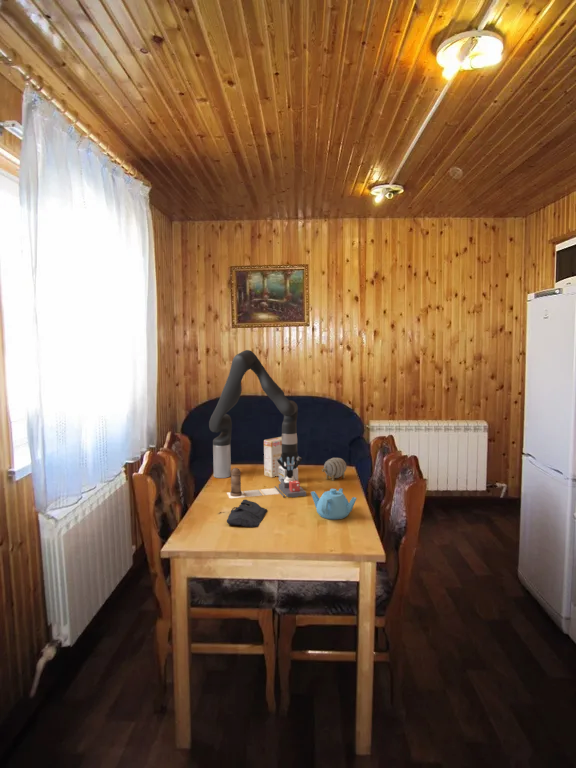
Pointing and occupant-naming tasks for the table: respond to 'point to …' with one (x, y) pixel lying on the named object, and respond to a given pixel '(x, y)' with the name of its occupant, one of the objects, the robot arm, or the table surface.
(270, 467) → the coffeecake box
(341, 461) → the toy sheep
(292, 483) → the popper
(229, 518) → the black folded cloth
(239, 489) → the pawn
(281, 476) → the container
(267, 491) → the board
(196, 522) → the table surface
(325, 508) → the teapot
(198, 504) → the table surface
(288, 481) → the dome
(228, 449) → the robot arm
